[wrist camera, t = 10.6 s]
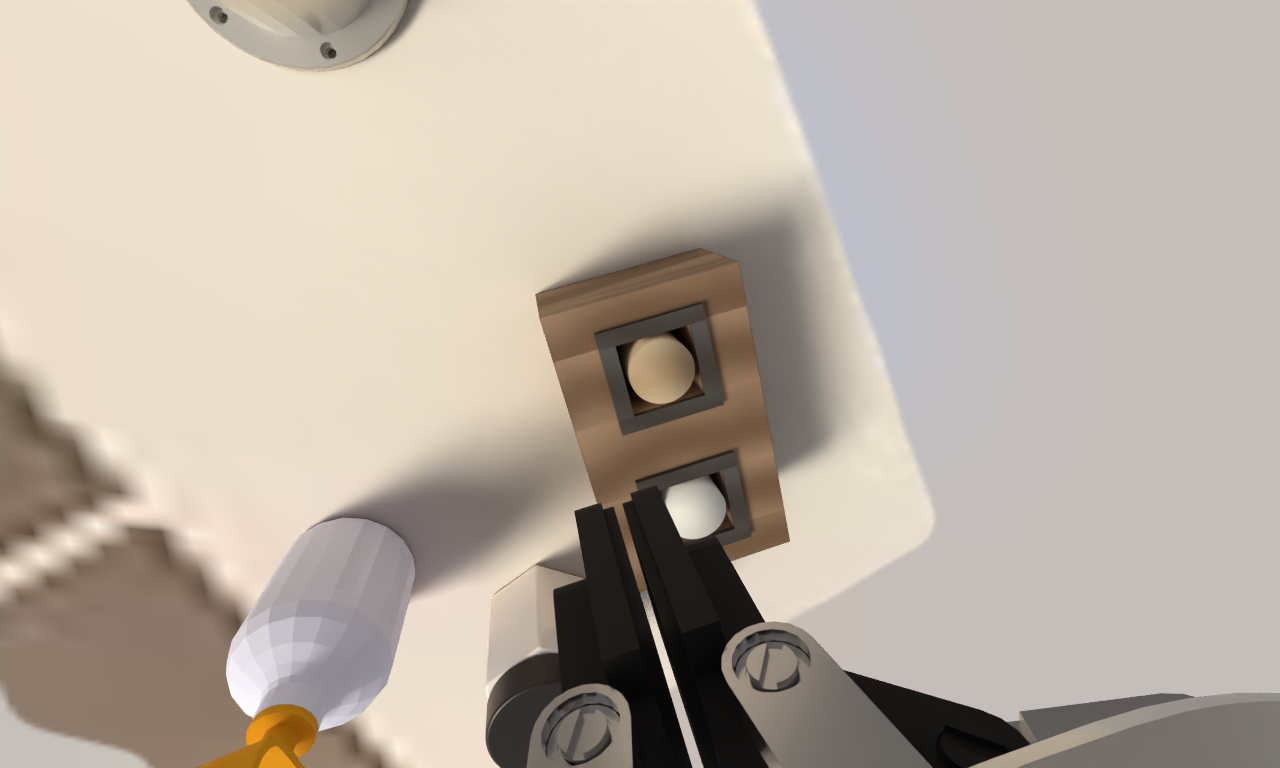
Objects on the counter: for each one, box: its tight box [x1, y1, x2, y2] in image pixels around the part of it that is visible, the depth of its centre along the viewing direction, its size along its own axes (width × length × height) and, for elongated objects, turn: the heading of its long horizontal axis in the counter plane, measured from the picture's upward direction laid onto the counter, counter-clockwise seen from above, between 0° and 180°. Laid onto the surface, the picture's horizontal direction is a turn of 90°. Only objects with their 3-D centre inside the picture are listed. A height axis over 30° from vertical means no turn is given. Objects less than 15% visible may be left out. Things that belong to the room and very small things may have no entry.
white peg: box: [659, 475, 726, 539], centre depth 43 cm, size 4×4×8 cm
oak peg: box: [615, 331, 695, 404], centre depth 40 cm, size 4×4×8 cm
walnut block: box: [535, 248, 790, 592], centre depth 42 cm, size 20×12×8 cm, turn 14°
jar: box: [485, 565, 584, 768], centre depth 44 cm, size 9×8×12 cm
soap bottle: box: [198, 518, 416, 768], centre depth 34 cm, size 9×9×25 cm
